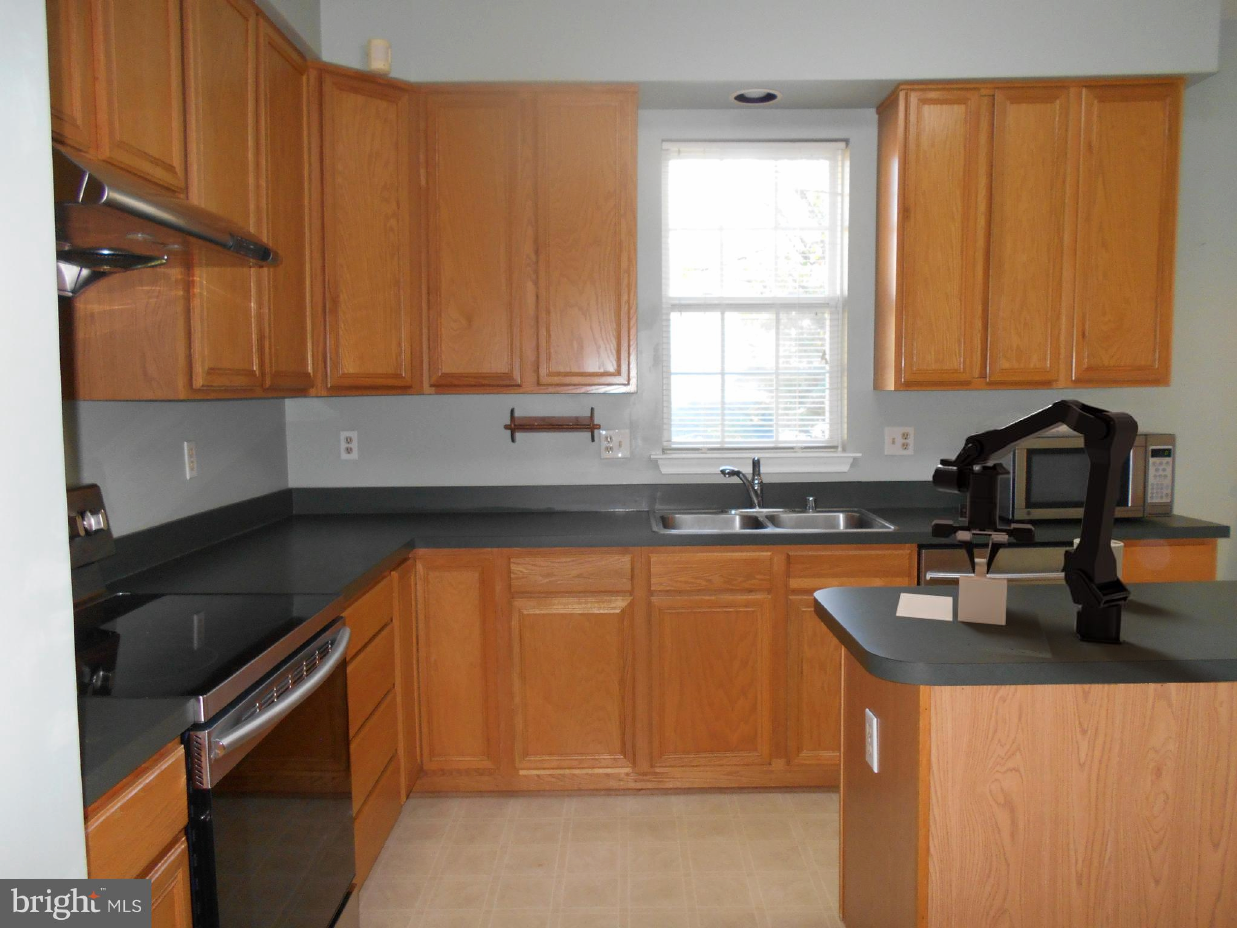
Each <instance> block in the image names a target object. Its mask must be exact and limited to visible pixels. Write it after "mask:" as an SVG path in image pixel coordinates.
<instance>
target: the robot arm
mask: <svg viewBox="0 0 1237 928" xmlns="http://www.w3.org/2000/svg"><path fill="white" fill-rule="evenodd" d="M1064 425H1065V426H1066V427H1067V428H1069V429H1070V430H1071V431H1073V432H1074V433H1077V434H1080V435H1082V436H1083V448H1084V451H1085V453H1086V456H1087V458H1088V461H1089V470H1088V475H1087V483H1086V490H1085V491H1086V492H1085V498H1084V506H1083V513H1082V519H1081V527H1080V528H1081V529H1080V535H1079V538H1080V541H1079V543H1078V545H1077V546H1076V548H1074V547H1073V548H1069V549H1066V550H1064V553H1063V565H1062V567H1061V569H1060V572H1061V573H1064V574H1063V581H1064V584H1066V585H1067V587H1068V589H1069V592H1070V595H1071V599H1072V603H1073V604H1074V605H1078V607H1075V608H1074V621H1073V622H1074V623H1073V630H1074V633H1075V634H1076V635H1077V636H1078V638H1079V640H1080V641H1087V642H1098V643H1106V644H1107V643H1110V644H1119V645H1120V644H1121V645H1122V644H1123V639H1122V638H1121V633H1122V614H1123V613H1122V611H1123V606H1122V605H1121V604H1126V603H1128V601H1129V599H1130V597H1131V595H1132V592H1131V591H1130V589H1129V588H1128V587H1127V585H1125V583H1124V582H1123V581H1122V579H1121V580H1120V578H1119V577H1118V576H1117V561H1116V558H1115V555H1114V553H1113V550H1112V548H1111V540H1112V537H1113V530H1114V529H1113V528H1114V523H1115V516H1116V515H1115V514H1116V509H1117V508H1116V507H1117V501H1118V493H1119V487H1120V482H1121V481H1120V480H1121V471H1122V466H1123V464H1124V463H1125V461H1126V459H1127V458H1128V456H1129V454H1130V453H1131V451H1132V450H1133V448H1134V446H1135V443H1136V439H1137V436H1138V433H1139V424H1138V420H1136V419H1135V418H1134V417H1133V415H1131V414H1129V413H1128V412H1125V411H1115V412H1114V411H1110V410H1108V409H1104V408H1101V407H1098V406H1097V407H1096V406H1093V405H1090V404H1087V403H1084V402H1083V401H1080V400H1078V399H1074V398H1071V399H1069V398H1068V399H1058V400H1056V401H1054V403H1052V404H1050V405H1048V406H1046V407H1044V408H1042V409H1039V410H1036V411H1035V412H1033V413H1030V414H1029V415H1027V416H1024V417H1022V418H1020V419H1019V420H1016V421H1014V422H1012V423H1010V424H1008V425H1005V426H1002V427H999V428H995V429H988V430H984V431H979V432H976V433H972V434H969V435H968V436H967V437H966V438H965V439H964V441H965V442H964V444H963V447H962V448H961V450H960V451H959V453H958V454H957V455H956V456H955V459H953V458H948V457H947V458H946V457H945V458H940V459H939V464H938V465H937V466H936V467H935V469H934V471H933V474H932V476H931V477H932V478H931V480H932V481H931V482H932V485H933V487H934V489H936V490H937V491H941V492H948V493H956V494H957V493H958V494H963V495H964V494H966V493H967V503H959V504H958V506H959V510H958V520H959V521H965V524H966V525H965V524H963V525H961V524H954V522H953V521H954V520H947V519H934V520H933V522H932V523H931V538H938V539H939V538H940V539H949V538H950V537H951V536H953V535H956V543H957V544H962V546H963V548H964V550H965V553H966V555H967V558H968V562H969V565H970V567H971V572H972V574H973V575H974V574H975V559H976V558H975V552H974V551H975V549H974V542H973V541H974V540H973V536H980V537H981V536H984V537H985V536H986V537H989V545H988V551H987V555H986V556H987V557H986V565H987V575H989V572H990V570H991V569H992V567H993V566H992V565H993V564H994V562H995V561H994V560H995V558H996V557H997V556H998V554H999V551H1000V550H1001V548H1002V547H1007V546H1008V543H1009V542H1008V539H1009V538H1012V539H1014V541H1015V542H1016V543H1028V544H1034V543H1036V542H1035V541H1036V530H1035V528H1034V527H1033V526H1032V525H1031V524H1028V523H1027V524H1026V523H1024V524H1023V523H1011V525H1010V527H1001V526H999V502H1000V501H999V500H1000V478H1001V476H1002V477H1003V476H1009V475H1011V471H1010V470H1009V469H1008V468H1006V466H1004V464H1003V462H999V461H1002V460H1003V459H1005V458H1006V457H1007V456H1009V455H1010V454H1012V453H1013V452H1014V450H1015V449H1016V448H1017V447H1019V446H1020V445H1021V444H1024V443H1026V442H1028V441H1031V440H1033V439H1035V438H1037V437H1040V436H1042V435H1044V434H1046V433H1049V432H1050V431H1053V430H1056V429H1057V428H1060V427H1063V426H1064ZM992 462H995V463H993V464H992V465H988V464H989V463H992ZM975 466H976V468H975Z"/></svg>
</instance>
